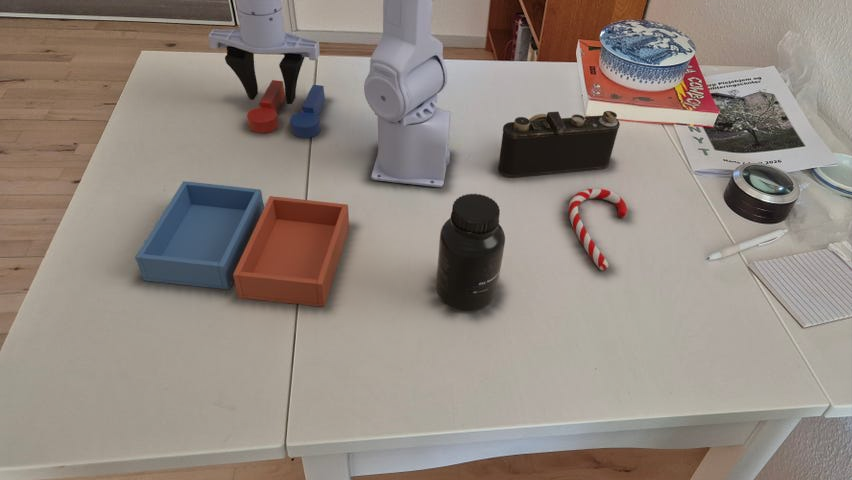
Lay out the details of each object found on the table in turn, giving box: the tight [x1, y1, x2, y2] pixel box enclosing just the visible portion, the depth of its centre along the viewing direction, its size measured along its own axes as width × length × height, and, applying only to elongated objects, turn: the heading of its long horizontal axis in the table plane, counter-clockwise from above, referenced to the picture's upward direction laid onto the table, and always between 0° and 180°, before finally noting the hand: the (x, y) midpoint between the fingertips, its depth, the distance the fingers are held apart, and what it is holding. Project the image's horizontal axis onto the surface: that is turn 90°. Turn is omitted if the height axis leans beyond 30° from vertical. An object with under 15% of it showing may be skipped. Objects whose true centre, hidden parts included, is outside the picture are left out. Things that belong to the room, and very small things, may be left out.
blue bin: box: [134, 180, 265, 290], centre depth 75 cm, size 9×13×4 cm
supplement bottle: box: [435, 193, 506, 312], centre depth 71 cm, size 7×7×12 cm
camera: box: [497, 110, 621, 179], centre depth 92 cm, size 16×7×8 cm, turn 105°
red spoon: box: [246, 79, 286, 134], centre depth 96 cm, size 10×4×3 cm, turn 176°
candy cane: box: [568, 188, 628, 271], centre depth 84 cm, size 8×1×15 cm
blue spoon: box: [289, 84, 326, 139], centre depth 96 cm, size 10×4×3 cm, turn 176°
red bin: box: [233, 195, 350, 308], centre depth 75 cm, size 9×13×4 cm
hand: (272, 98), depth 97 cm, fingers open, 5 cm apart
